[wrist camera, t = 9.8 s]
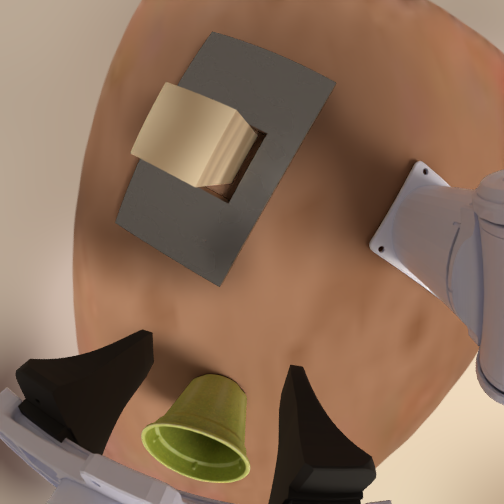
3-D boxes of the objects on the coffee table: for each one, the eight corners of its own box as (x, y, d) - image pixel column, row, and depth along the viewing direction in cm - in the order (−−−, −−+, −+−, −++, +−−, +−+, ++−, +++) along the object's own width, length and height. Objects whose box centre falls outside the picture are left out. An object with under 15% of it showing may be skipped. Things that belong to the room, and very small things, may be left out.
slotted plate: (333, 89, 17) (336, 83, 15) (224, 279, 22) (219, 287, 20) (217, 39, 17) (212, 31, 15) (124, 219, 22) (115, 222, 20)
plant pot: (173, 406, 27) (144, 461, 19) (176, 347, 24) (136, 408, 16) (251, 429, 26) (238, 490, 18) (272, 374, 24) (262, 447, 15)
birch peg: (257, 135, 19) (236, 110, 11) (231, 183, 20) (195, 187, 12) (211, 113, 19) (166, 81, 11) (186, 159, 20) (130, 153, 12)
